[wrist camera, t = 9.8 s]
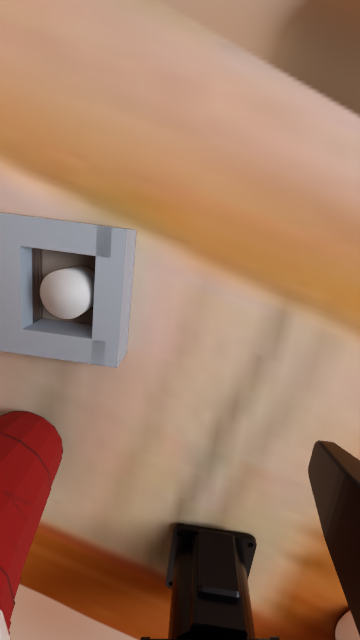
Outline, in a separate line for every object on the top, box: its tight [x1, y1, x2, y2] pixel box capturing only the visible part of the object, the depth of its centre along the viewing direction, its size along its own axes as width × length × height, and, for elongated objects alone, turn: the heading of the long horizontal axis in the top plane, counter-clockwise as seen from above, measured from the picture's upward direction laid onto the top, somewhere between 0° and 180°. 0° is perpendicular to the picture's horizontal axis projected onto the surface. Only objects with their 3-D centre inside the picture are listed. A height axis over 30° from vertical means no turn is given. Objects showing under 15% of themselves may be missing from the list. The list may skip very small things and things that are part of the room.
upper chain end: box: [0, 212, 136, 368], centre depth 18 cm, size 8×14×2 cm, turn 83°
